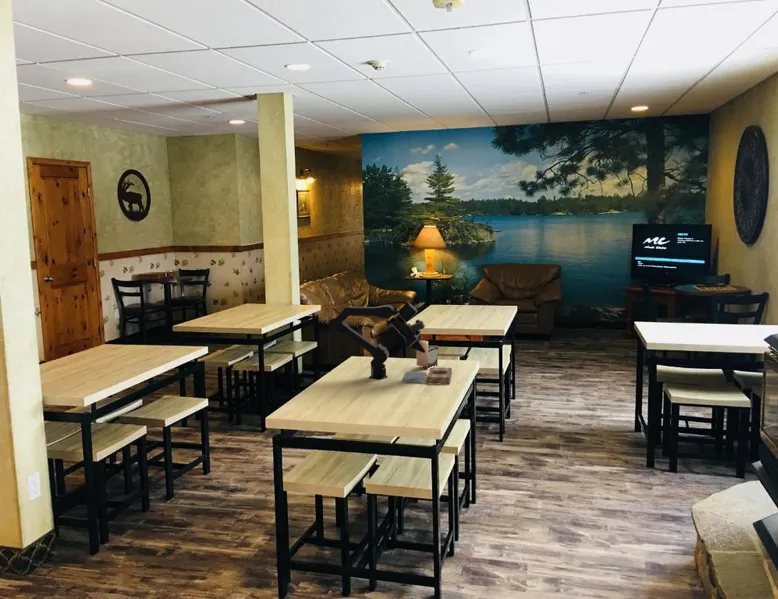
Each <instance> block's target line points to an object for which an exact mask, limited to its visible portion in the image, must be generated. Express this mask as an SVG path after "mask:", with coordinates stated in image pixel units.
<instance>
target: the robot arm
mask: <svg viewBox="0 0 778 599" xmlns="http://www.w3.org/2000/svg"><path fill="white" fill-rule="evenodd" d="M417 313H418V309H417V308H416V307H415V306H414V305H413V304H412V303H410V302H409V301H406V302H405V303H404V305H402V306H401V307H400V308H398V307H394V306H393V305H391V304H383V305H379V306H350V305H347V306H346V307H344V308H343V310H342V311H341V312H340V313H339V314H338V315H336V316H334V317H332V318H331V319H330V320H329V321H328V327H329V329H330V330H332V331H334V332H335V333H338V334H341V335H344V336H346V337H347V338H348V339H350V340H351V341H353V342H354V343H356V344H357V345H358V346H360V347H361V348H363V349H364V350H366V351H367V352H368V353H369V355H370V356H371V357H372V360H371V361H370V363H369V364H370V376H368V378H370V379H374V378H375V380H382V379H385V378H388V377H387V376H388V375H387V368H386V364H384V363H385V362H387V360H388V359H389V356H390V352H389V350H388V349H387V347H386V346H383V344H381V343H378V344H375V343H373V342H372V341H370V340H368V339H367V338H366V337H364V336H363V335H361V334H360V333H359V332H357V331H355V330H354V329H353V328H352V327H350V325H348V323H347V321H345V320H346V319H348V317H349V316H365V317H367V316H369V317H372V316H373V317H377V318H381V319H385V320H386V319H387V320H386V327H387V328H388V327H389V326H390V325H392V327H393V328H394V329H395V330H396V331H397V332H398V335H401V336H402V337H403V338H404V340H405V341H404V346H405V347H406V348H407V349H408V348H409V349H410V348H411V349H414V350H416V351H417V350H418V351H420V352H422V353H425V352H426V351H425V350H424V348H423V347H422V345H421V344H420V343H419V341H421V340H422V334H421V332H422V331H421V330H423V329H425V327H426V326H425V324H424V321H423V320H420V319H416V320H415V323H413V324H411V323H408V322H407V320H408V321H410V320H411V319H412V318H413V317H414V316H415V315H416V314H417ZM384 377H385V378H384ZM381 378H382V379H381Z"/></svg>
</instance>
